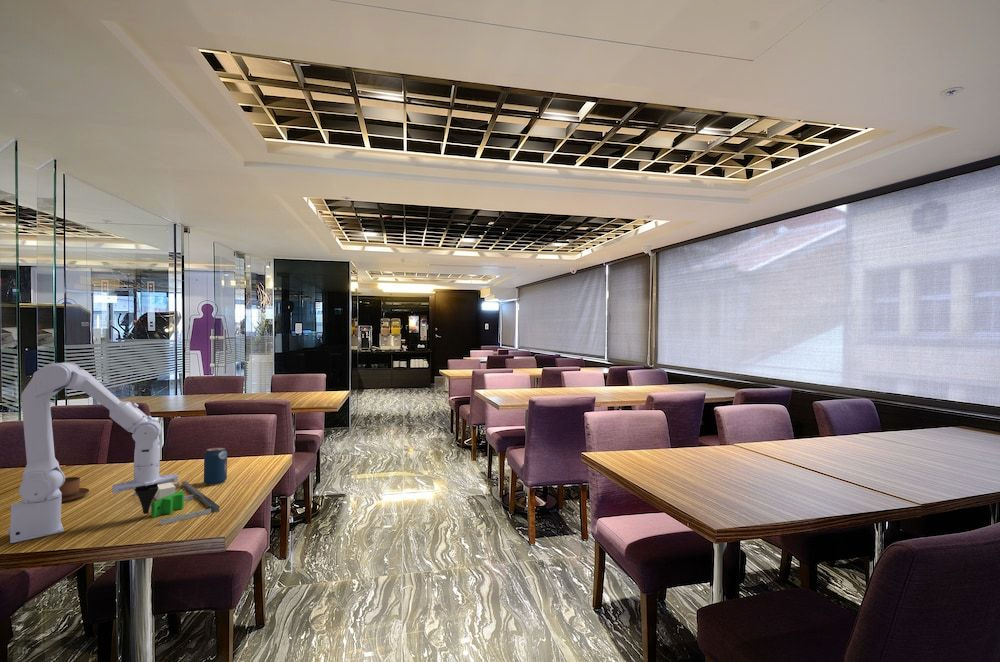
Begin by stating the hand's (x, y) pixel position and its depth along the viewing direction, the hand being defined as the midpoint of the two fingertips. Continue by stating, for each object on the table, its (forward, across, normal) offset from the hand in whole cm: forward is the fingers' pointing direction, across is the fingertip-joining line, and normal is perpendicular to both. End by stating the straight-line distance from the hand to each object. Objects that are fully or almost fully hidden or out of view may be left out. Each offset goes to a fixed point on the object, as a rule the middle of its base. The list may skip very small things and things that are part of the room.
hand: (145, 512), depth 128 cm
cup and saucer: (+2, -14, +39) cm, 41 cm away
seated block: (+1, +8, +18) cm, 20 cm away
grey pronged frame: (+1, +9, +9) cm, 13 cm away
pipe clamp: (+2, +6, +1) cm, 7 cm away
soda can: (+2, +24, +23) cm, 33 cm away
